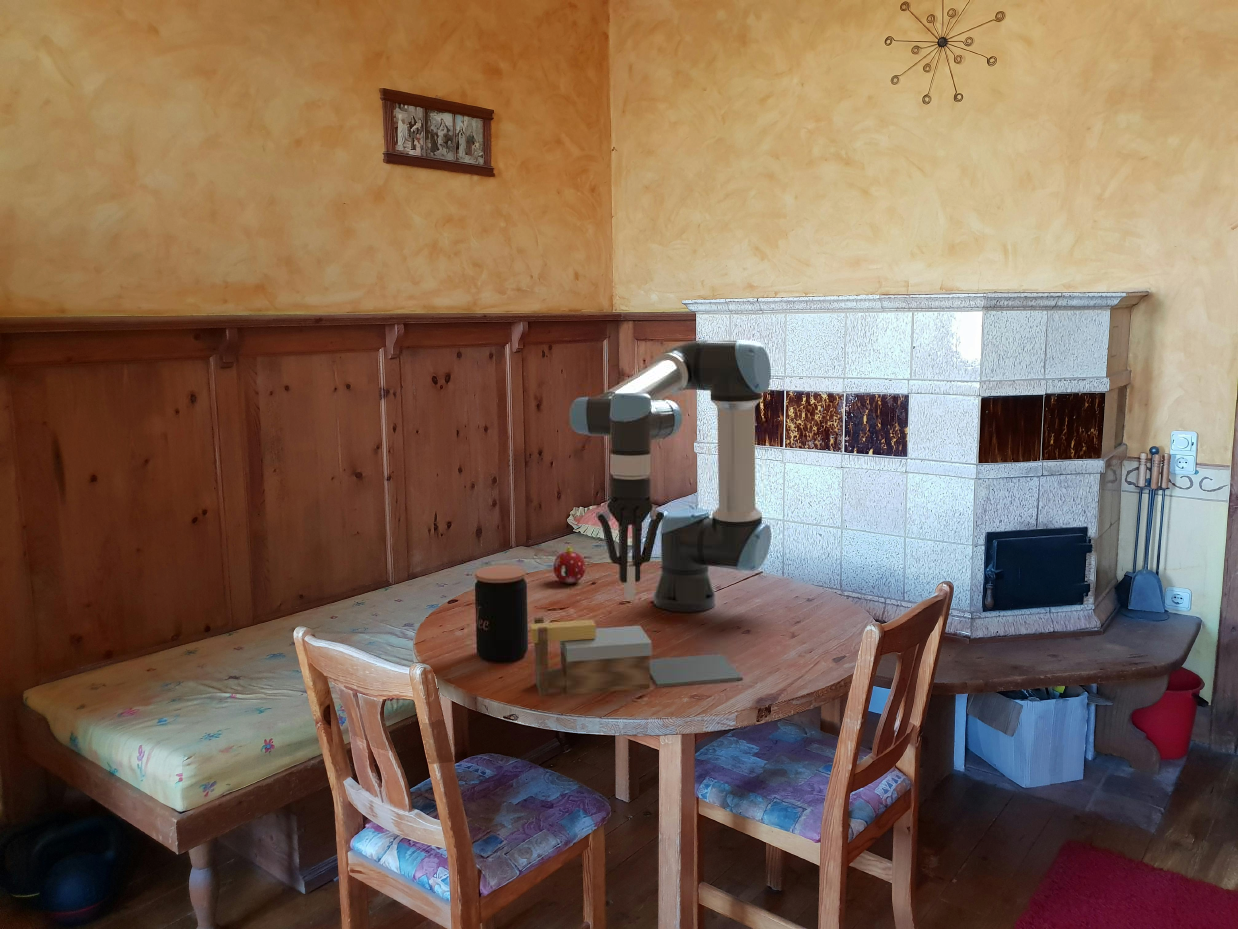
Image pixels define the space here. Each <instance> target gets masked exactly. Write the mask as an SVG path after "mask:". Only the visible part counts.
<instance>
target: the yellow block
mask: <svg viewBox="0 0 1238 929" xmlns="http://www.w3.org/2000/svg"><path fill="white" fill-rule="evenodd" d="M529 625H530V626H529V627H530V640H531V643H532V644H535V643H538V627H547V633H548V642H549V643H551V642H553V643H554V642H560V641H568V640H582V639H596V629H597V625H596V622H595V621H594V619H585V620H570V621H556V622H544V623H538V624H534V623H530V624H529Z"/></svg>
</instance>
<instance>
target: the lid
mask: <svg viewBox="0 0 1238 929" xmlns="http://www.w3.org/2000/svg"><path fill="white" fill-rule="evenodd" d="M559 646H560V649H561V648H562V650H563V653H564V655H565V657H566V660H567V662H569V661H582V660H595V659H609V658H622V657H635V656H648V655H650V656H653V653H652V652H653V643H652V640H651V639H650V638H649V636H648V635H647V633H646V632H645V630H643V628H642V627H641V625H631V626H630V625H629V626H627V625H626V626H616V627H602V628H601V627H600V628H599V627H598V628H596V639H582V640H568V641H559Z"/></svg>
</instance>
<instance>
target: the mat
mask: <svg viewBox="0 0 1238 929" xmlns="http://www.w3.org/2000/svg"><path fill="white" fill-rule="evenodd" d="M650 679H652V681H653V682H654V684H655V686H656V687H657V688H662V687H665V688H666V687H674V686H686V685H687V686H688V685H698V684H700V685H701V684H711V683H723V682H734V681H737V682H738V681H743V679H744V678H743V676H742V675H741V673H740V672H739V671H737V669H736V668H735V667H734V666H733V664H731V662H729V660H728V659H727V658H726V657H725V656H724V654H722V653H717V654H716V653H715V654H705V655H704V654H703V655H693V656H691V655H690V656H678V657H667V658H664V657H663V658H653V659H651V658H650Z"/></svg>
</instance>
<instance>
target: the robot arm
mask: <svg viewBox="0 0 1238 929" xmlns="http://www.w3.org/2000/svg"><path fill="white" fill-rule="evenodd" d="M771 368H772V367H771V362H770V357H769V355H768V353H767V351H766V348H765V347H764V345H762V344H761V343H760V342H758V341H754V340H744V339H717V340H713V339H711V340H709V339H708V340H707V339H697V340H692V341H688V342H685V343H682V344H680V345H677V346H674V347H671V349H669V350H666V351H664V352H663V353H660V354H659V355H657V356H656V357H655V358H654V359H653V360H652V362H651V365H649V366H648V367H646V368H644V369H642V370H641V371H639V372H637V373H636V374H634V375H632V376H630V377H629V378H627V379H626V380H624V381H622V382H621V383H618V384H616V385H615V386H614V387H613V386H612V387H611V388H610V389H608V390H606V391H605V392H603V393H602V394H599V395H598V396H594V397H591V396H586V397H583V396H582V397H578V398H576V399H575V400H574V401H573V402H572V403H571V406H570V409H569V413H568V414H569V415H568V416H569V420H570V422H569V424H570V426H571V429H572V430H573V431H574V432H576V433H577V434H579V435H580V434H581V435H588V436H589V437H590V436H597V437H598V436H599V437H600V436H602V437H610V451H609V452H610V454H609V455H610V463H609V464H610V466H609V467H610V474H611V475H612V476H611V477H610V479H609V485H610V486H609V501H608V503H607V508H605V509H604V510H603V511H601V512H600V511H598V512H596V515H595V517H596V519H597V520H598V522H599V523H600V525H601V529H602V534H603V536H604V540H605V545H606V549H607V553H608V559H609V560H610V562H611V563H612V564H613V565H615V564H616V565H618V568H619V570H618V571H619V572H618V576H619V577H618V579H619V581H620V582H621V583H624V585H623V587H624V591H623V592H624V594H623V595H624V598H625V600H626V601H627V602H628V601H636V583H638V582H640V581H641V567H642V565H643V564H644V563H648V562H650V561H651V559H652V558H651V557H652V554H653V550H654V546H655V543H656V537H657V534H658V529H659V526H660V524H661V527H660V564H661V565H660V575H659V578H658V582H657V583H656V587H655V590H654V593H653V604H654V605H655V606H656V607H657V608H660V609H662V610H665V611H669V612H678V613H680V612H681V613H692V612H693V613H694V612H696V613H697V612H701V611H707V610H709V609H712V608H713V607H715V606H716V594H715V590H714V587H713V583H712V581H711V578H710V575H709V573H710V572H709V567H713V568H714V567H715V568H720V569H721V568H722V569H727V570H735V571H738V572H744V571H745V572H755V571H757V570H759V569H760V568H761V567H762V566H763V565H764V564H765V561H766V560H767V556H768V553H769V551H770V546H771V542H772V541H771V540H772V530H771V527H770V525H769V523H766V522H763V513H762V511H760V510H759V509H758V508H757V507H756V406H757V404H759V402H761V401H762V394H763V393H766V392H767V391H768V389H769V388H770V384H771V382H770V381H771V378H772V369H771ZM690 390H692V391H704V392H705V391H706V392H707V391H710V401H711V403H713V404H714V405H715V406H716V408H717V416H716V417H717V478H718V479H717V480H718V483H717V485H718V487H717V488H718V507H717V508H716V509H715V510H714V511H713V512H712V514H710V512H709V510H708V509H703V508H694V509H693V508H691V509H682V510H676V511H672V512H668V513H666V514H664V512H662V511H661V510H659V509H656V508H655V507H653V506H654V505H653V502H652V500H651V478H650V477H649V475H650V474H651V443H652V442H651V441H654V440H655V441H656V440H660V439H663V440H664V439H665V440H666V439H667V438H669V437H671V436H674V435H675V434H676V433H678V431H679V430H680V429H681V427H682V424H683V414H682V413H683V412H682V411H681V408H680V407H679V406H678V404H677V403H676V402H674V401H673V400H670V399H664V397H666V396H668V395H676V394H678V393H680V392H682V391H690ZM711 515H712V517H710V516H711ZM611 516H612V517H613V518H614V519H615V521H616V522H617V523H618V524H617V526H618V554H617V550H616V545H615V542H614V536H613V533H612V530H611V525H610V523H609V522H610V521H611ZM648 516H649V518H650V520H649V523H648V527H647V531H646V534H645V540H644V543H643V546H642V530H643V527H642V526H643V523H644V521H645V520H646V518H647V517H648ZM629 526H631V543H632V544H631V561H632V562H631V563H629V561H628V560H629V559H628V558H629V556H628V555H629V554H628V551H629V546H628V544H629V541H628V540H629V538H628V535H629ZM642 547H643V548H642Z"/></svg>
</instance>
